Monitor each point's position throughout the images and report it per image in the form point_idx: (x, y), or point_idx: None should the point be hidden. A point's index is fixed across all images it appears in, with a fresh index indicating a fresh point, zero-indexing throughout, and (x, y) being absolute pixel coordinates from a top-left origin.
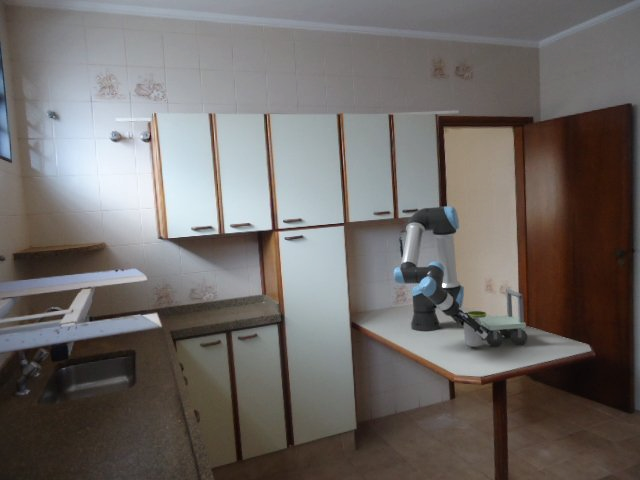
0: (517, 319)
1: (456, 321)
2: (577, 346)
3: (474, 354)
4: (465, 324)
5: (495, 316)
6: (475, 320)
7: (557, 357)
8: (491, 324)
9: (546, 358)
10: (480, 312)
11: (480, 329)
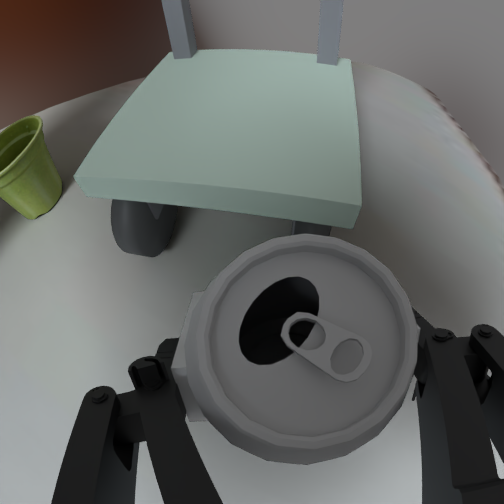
0: (263, 51)
1: (132, 483)
2: (379, 74)
3: (401, 429)
4: (320, 459)
5: (136, 92)
6: (415, 332)
7: (474, 155)
8: (317, 174)
9: (485, 182)
10: (9, 132)
11: (427, 331)
